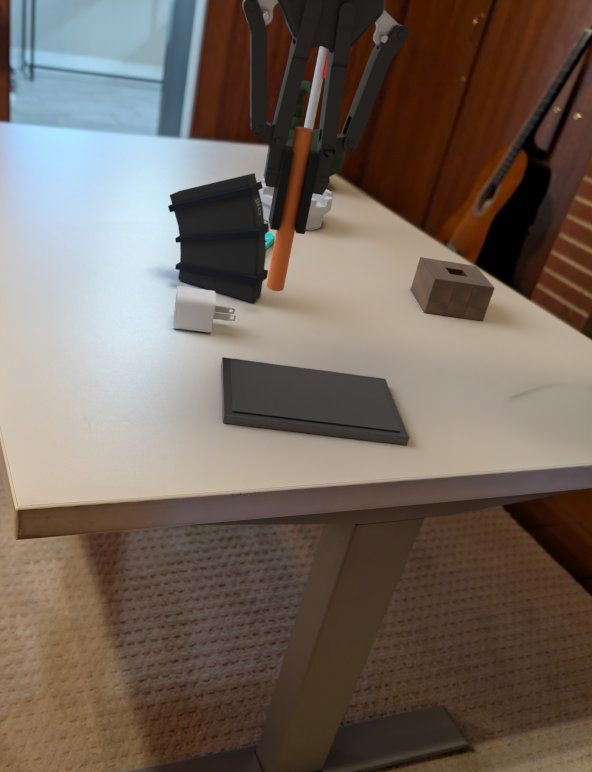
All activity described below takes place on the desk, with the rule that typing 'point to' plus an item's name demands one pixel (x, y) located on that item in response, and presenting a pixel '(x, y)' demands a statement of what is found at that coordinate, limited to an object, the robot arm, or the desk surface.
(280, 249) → the orange rod
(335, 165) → the toy figurine
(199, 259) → the magazine
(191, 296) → the usb wall charger
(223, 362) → the tablet
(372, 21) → the robot arm
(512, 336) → the desk surface
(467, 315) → the pen stand
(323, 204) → the flag stand
